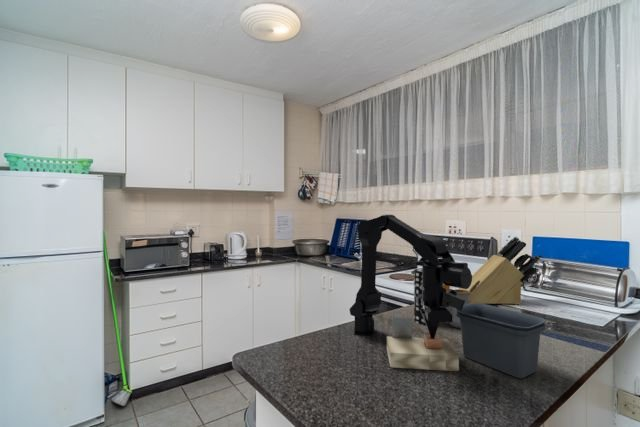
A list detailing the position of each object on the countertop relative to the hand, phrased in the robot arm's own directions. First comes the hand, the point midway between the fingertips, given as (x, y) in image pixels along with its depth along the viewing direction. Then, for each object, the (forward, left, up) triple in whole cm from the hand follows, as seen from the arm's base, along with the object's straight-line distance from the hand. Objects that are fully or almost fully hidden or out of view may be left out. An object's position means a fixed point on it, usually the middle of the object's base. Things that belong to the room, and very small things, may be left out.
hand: (432, 336), depth 94 cm
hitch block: (-3, 0, -7) cm, 8 cm away
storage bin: (+18, 0, -7) cm, 20 cm away
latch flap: (-8, +5, 0) cm, 9 cm away
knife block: (+44, +68, -7) cm, 82 cm away
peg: (0, 0, -7) cm, 7 cm away
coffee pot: (+21, +35, -7) cm, 41 cm away
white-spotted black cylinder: (+5, +34, -7) cm, 35 cm away
